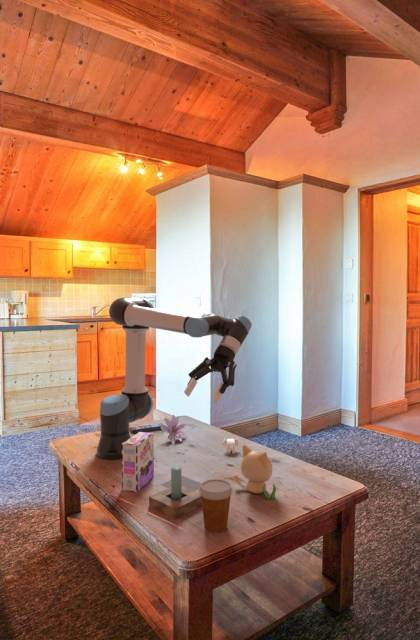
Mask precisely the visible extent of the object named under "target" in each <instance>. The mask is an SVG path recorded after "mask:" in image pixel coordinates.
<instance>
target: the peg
mask: <svg viewBox="0 0 420 640" xmlns="http://www.w3.org/2000/svg"><path fill="white" fill-rule="evenodd" d="M170 470H171V471H170V472H171V473H170V475H171V476H170V480H171V499H173V500H175V501H177V500H179V499H181V498H182V476H183V473H182V470H183V469H182V467H180V466H173V467H172V468H171V469H170Z"/></svg>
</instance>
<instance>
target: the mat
mask: <svg viewBox="0 0 420 640" xmlns="http://www.w3.org/2000/svg"><path fill="white" fill-rule="evenodd" d="M201 483H202V482H199V481H197V480H194V479H192V478H188V477H186V476H184V475H182V486H183V487H186V488H188V489H191V490H193V491H197V490H199V488H200V486H201ZM160 486H163V487H165V488H169V487H171V479H170V480H168V481H165V482H163V483H161V484H160Z"/></svg>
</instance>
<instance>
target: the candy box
mask: <svg viewBox="0 0 420 640" xmlns="http://www.w3.org/2000/svg"><path fill="white" fill-rule="evenodd" d="M130 437H131V438H130V439H128V440H127V441H125V442H124V443H122V458H121V477H122V478H121V485H122V488H121V490H122V491H127V492H133V493H138V492H139V491H140V490H141V489H142V488H143V487H144V486H146V484H148V482H150V481H151V479H153V478H154V477H155V469H154V468H155V463H154V461H155V460H154V459H155V458H154V457H155V456H154V432H145V431H144V432H143V431H138V432H137V433H136V434H134V435H133V436H130Z"/></svg>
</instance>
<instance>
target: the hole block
mask: <svg viewBox="0 0 420 640" xmlns="http://www.w3.org/2000/svg"><path fill="white" fill-rule="evenodd" d="M148 507H149V508H151V509H154V510H155V511H158V512H160V513H162V514H165V516H168V517H170V518H172V519H174V520H178V519H180V518H181V517H184V516H186V515H187V514H189V513H191V512H193V511H194V510H195V511H196V509H198V508H200V507H202V501H201V495H200V493H199V491H197V490H195V491H193V490H191V489H188V488H186V487H183V486H182V498H181V499H179V500H177V501H175V500H173V499H171V487H169V488H168V487H166V488H165V489H162V490H160V491H158V492H156V493H154V494H152V495H150V496H148Z"/></svg>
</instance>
